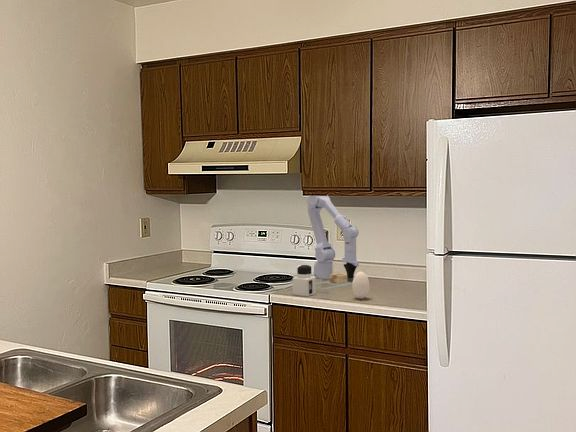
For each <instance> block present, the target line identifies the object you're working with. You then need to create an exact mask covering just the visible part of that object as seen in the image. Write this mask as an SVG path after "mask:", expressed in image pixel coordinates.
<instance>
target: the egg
mask: <svg viewBox="0 0 576 432" xmlns="http://www.w3.org/2000/svg"><path fill="white" fill-rule="evenodd" d="M351 283H352V284H351V289H352V293H353V295H354V296H355V297H356V298H357V299H360V300H361V299H362V300H363V299H365V298H366V297H367V296H368V295H369V292H370V289H371V288H370V280H369V277H368V275H367V274H366V273H365V272H363V271H358V272H357V273H356V274H354V276H353V280H352V282H351Z"/></svg>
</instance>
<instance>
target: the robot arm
mask: <svg viewBox="0 0 576 432" xmlns="http://www.w3.org/2000/svg"><path fill="white" fill-rule="evenodd" d="M306 202H307V206H308V207H307V214H308V217H309V221H310V225H311V228H312V231H313V235H314V238H315V242H316V247H315V248H314V250H315V253H314V254H315V255H314V257H315V260H316V262H315V263H314V264H313V276H314V277H316V279H317V278H318V279H323V280H326V279H327V280H328V279H329V280H330V274H334V273H333V270H334V269H333V262H334V259H335V258H336V251H335V250H334V248H333V246H332V244H331V243H330V242H329V241H328V239H327V235H326V232H325V228H324V224H323V221H322V218H321V215H320V212H321V210H322V209H323V208H324V209H325V210H326V211H327V212H328V213H329V214H330V215H331V217H332V218H333V219H334V223H335V225H336V227H338V228H339V231H341V235H342V237H343V241H344V257H342V258H341V259H342V260H341V262H342V263H343V267H344V269H345V273H346V274H347V280H351V279H354V277H355V272H356V269H357V268H358V267H359V266H360V261H358V260H357V237H358V236H359V232H360V231H359V229H358V227H357V226H355V225H353V224H352V223H350V221H349V220H348V218H347V216H346V215H344V214H340V212H339V211H338V210H337V208H336V206H335V204H333V203H332V201H331V198H330V197H329V196H328V195H327V196H308V197H307V199H306Z"/></svg>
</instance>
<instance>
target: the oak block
mask: <svg viewBox="0 0 576 432" xmlns="http://www.w3.org/2000/svg"><path fill="white" fill-rule="evenodd" d="M329 281H330V283H334V284H343V283H347V282H348V276H347V273H346V274H345V273H340V272H337V273H333V274H330V278H329Z"/></svg>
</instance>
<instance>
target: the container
mask: <svg viewBox="0 0 576 432" xmlns="http://www.w3.org/2000/svg"><path fill="white" fill-rule="evenodd" d="M316 283H317V277H314V275H313V276H312V266H311V265H308V264H299V265H297V266H296V276H294V277H292V295H293V296H299V297H300V296H302V297H310V296H312V295H316V293H317V288H316V287H317V284H316Z"/></svg>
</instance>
